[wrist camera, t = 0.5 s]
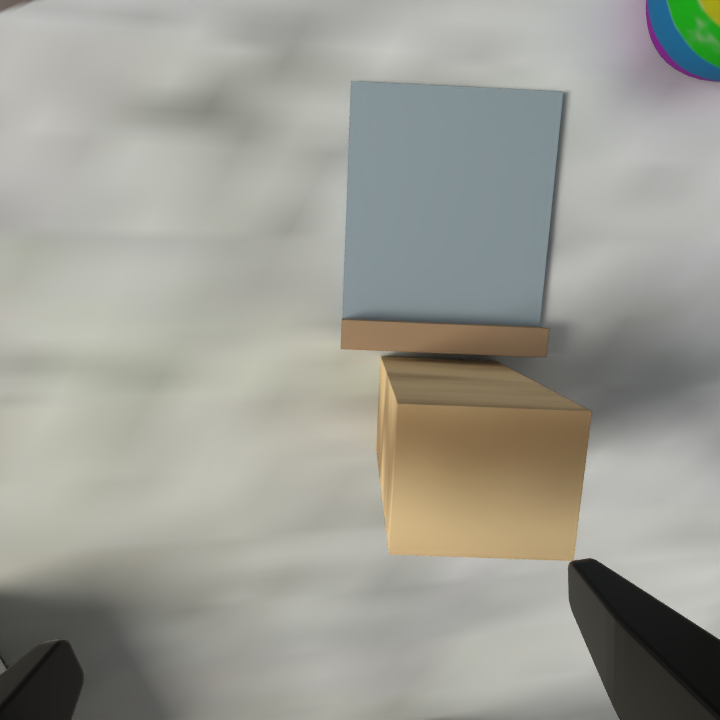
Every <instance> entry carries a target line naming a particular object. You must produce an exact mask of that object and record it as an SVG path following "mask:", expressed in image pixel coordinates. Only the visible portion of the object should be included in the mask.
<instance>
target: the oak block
mask: <svg viewBox="0 0 720 720" xmlns="http://www.w3.org/2000/svg"><path fill="white" fill-rule="evenodd" d="M591 414H592V411H590V410H588V409H586V408H584V407H582V406H580V405H579V404H577V403H575V402H573V401H571V400H569V399H567V398H565V397H563V396H561V395H560V394H558V393H556V392H554V391H552V390H550V389H548V388H546V387H544V386H542V385H540V384H539V383H537V382H535V381H533V380H531V379H529V378H527V377H525V376H523V375H521V374H519V373H518V372H516V371H514V370H512V369H510V368H508V367H506V366H504V365H502V364H500V363H499V362H497V361H480V360H456V359H431V358H407V357H383V356H381V363H380V383H379V403H378V423H377V443H376V451H377V459H378V468H379V476H380V484H381V492H382V500H383V508H384V516H385V524H386V532H387V540H388V548H389V554H392V555H421V556H450V557H478V558H507V559H535V560H564V561H574V553H575V545H576V537H577V529H578V521H579V512H580V504H581V496H582V488H583V480H584V471H585V463H586V455H587V447H588V438H589V430H590V422H591Z"/></svg>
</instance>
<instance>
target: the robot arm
mask: <svg viewBox="0 0 720 720" xmlns="http://www.w3.org/2000/svg"><path fill="white" fill-rule="evenodd" d="M568 588H569V602H570V606H571V610H572V612H573V615H574V617H575V619H576V622H577V624H578V626H579V629H580V631H581V633H582V636H583V638H584V640H585V643H586V645H587V647H588V650H589V652H590V654H591V657H592V659H593V661H594V664H595V666H596V668H597V671H598V673H599V675H600V678H601V680H602V682H603V685H604V687H605V689H606V692H607V694H608V696H609V698H610V700H611V703H612V705H613V707H614V709H615V711H616V713H617V715H618V717H619V719H620V720H720V639H718V638H716V637H715V636H713V635H712V634H710V633H709V632H707V631H706V630H704V629H702V628H701V627H699V626H698V625H696V624H695V623H693V622H692V621H690V620H689V619H687V618H685V617H684V616H682V615H681V614H679V613H678V612H676V611H675V610H673V609H671V608H670V607H668V606H667V605H665V604H664V603H662V602H661V601H659V600H657V599H656V598H654V597H653V596H651V595H650V594H648V593H647V592H645V591H643V590H642V589H640V588H639V587H637V586H636V585H634V584H633V583H631V582H630V581H628V580H626V579H625V578H623V577H622V576H620V575H619V574H617V573H616V572H614V571H612V570H611V569H609V568H608V567H606V566H605V565H603V564H602V563H600V562H598V561H597V560H595V559H591V558H588V559H582V560H575V561H571V562H570V563H569V566H568ZM83 676H84V675H83V670H82V667H81V665H80V663H79V661H78V659H77V657H76V654H75V652H74V650H73V648H72V646H71V644H70V642H69V641H68V640H66V639H56V640H49V641H44V642H41V643H40V644H38V645H37V646H35V647H34V648H33V649H32V650H30V651H29V652H28V653H27V654H25V655H24V656H23V657H22V658H20V659H19V660H18V661H17V662H15V663H14V664H13V665H12V666H11V667H9V668H8V669H7V670H6V671H4V672H3V673H2V674H1V675H0V720H71V719H72V716H73V713H74V710H75V707H76V704H77V701H78V698H79V695H80V692H81V689H82V685H83Z"/></svg>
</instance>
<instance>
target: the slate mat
mask: <svg viewBox="0 0 720 720" xmlns="http://www.w3.org/2000/svg"><path fill="white" fill-rule="evenodd" d="M562 100H563V92H561V91H541V90H521V89H501V88H480V87H460V86H440V85H420V84H400V83H379V82H359V81H351V101H350V128H349V156H348V183H347V210H346V237H345V264H344V291H343V318H342V328H341V349H352V350H376V351H400V352H425V353H449V354H473V355H498V356H522V357H546V355H547V345H548V336H549V329H548V328H543V327H540V317H541V307H542V297H543V288H544V278H545V268H546V258H547V248H548V238H549V228H550V218H551V208H552V199H553V189H554V179H555V169H556V159H557V149H558V139H559V129H560V119H561V109H562Z"/></svg>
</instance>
